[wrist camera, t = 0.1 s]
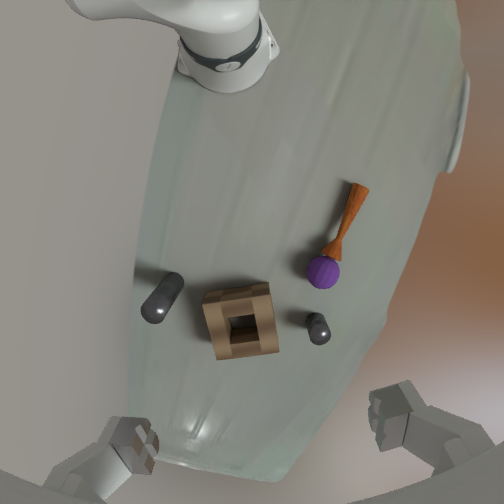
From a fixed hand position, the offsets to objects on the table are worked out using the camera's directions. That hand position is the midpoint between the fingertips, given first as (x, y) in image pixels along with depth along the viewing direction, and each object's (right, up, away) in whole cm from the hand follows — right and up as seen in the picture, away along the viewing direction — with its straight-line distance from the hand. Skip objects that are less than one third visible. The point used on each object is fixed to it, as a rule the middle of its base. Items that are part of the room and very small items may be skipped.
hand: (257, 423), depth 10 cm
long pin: (-15, 0, +50) cm, 52 cm away
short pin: (+13, -8, +51) cm, 53 cm away
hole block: (-2, -6, +51) cm, 52 cm away
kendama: (+15, +9, +47) cm, 51 cm away
